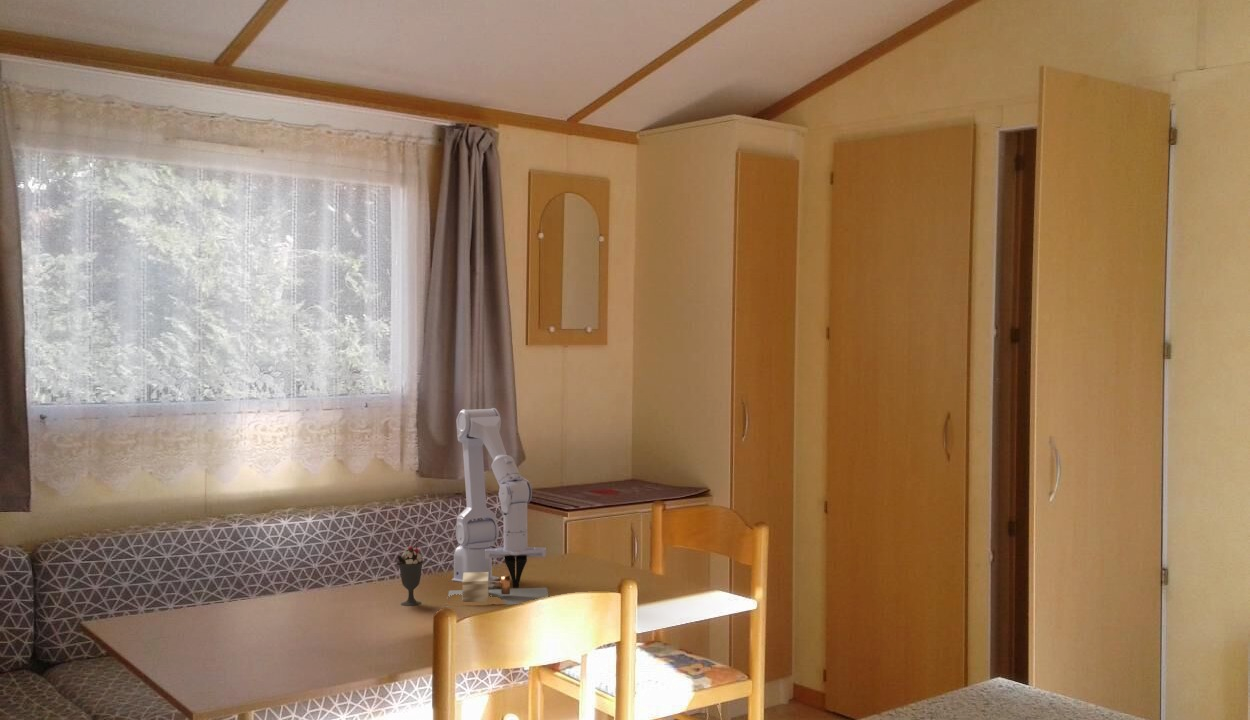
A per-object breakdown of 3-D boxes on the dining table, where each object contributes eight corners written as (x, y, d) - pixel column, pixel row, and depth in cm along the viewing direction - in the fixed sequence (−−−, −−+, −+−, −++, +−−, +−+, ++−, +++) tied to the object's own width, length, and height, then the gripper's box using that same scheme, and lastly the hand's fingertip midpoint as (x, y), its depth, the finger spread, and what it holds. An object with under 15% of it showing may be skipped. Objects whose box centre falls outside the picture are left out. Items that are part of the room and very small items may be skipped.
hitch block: (462, 603, 264) (462, 581, 264) (463, 593, 274) (463, 572, 274) (488, 602, 265) (488, 581, 264) (488, 592, 275) (488, 571, 274)
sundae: (428, 601, 267) (428, 538, 266) (420, 608, 260) (420, 543, 260) (401, 600, 267) (401, 537, 267) (393, 607, 261) (392, 543, 260)
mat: (446, 607, 261) (446, 606, 261) (449, 591, 277) (449, 590, 277) (549, 604, 263) (549, 603, 263) (547, 588, 279) (547, 587, 279)
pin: (467, 597, 267) (467, 578, 267) (467, 593, 271) (467, 574, 271) (509, 596, 268) (509, 577, 268) (509, 591, 272) (509, 573, 272)
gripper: (484, 534, 265) (485, 591, 265) (546, 533, 267) (546, 590, 267) (485, 529, 272) (485, 585, 272) (545, 527, 274) (545, 583, 274)
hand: (515, 587), depth 270 cm, fingers closed
